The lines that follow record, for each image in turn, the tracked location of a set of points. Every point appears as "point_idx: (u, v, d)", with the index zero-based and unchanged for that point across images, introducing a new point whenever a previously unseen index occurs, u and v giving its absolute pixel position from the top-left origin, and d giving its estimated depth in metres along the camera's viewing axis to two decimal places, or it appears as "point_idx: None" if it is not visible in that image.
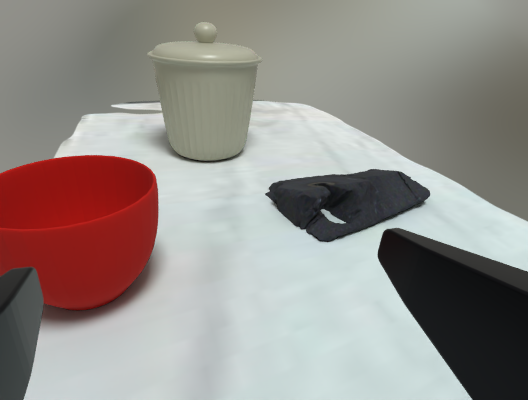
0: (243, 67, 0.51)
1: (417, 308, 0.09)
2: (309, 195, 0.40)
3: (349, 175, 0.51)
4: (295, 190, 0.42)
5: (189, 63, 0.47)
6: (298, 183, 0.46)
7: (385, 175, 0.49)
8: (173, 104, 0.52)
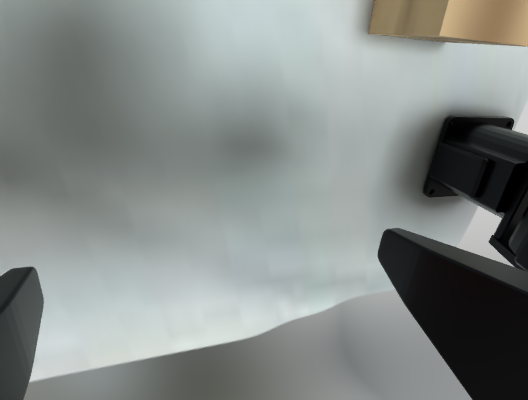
0: None
1: (417, 308, 0.09)
2: None
3: None
4: None
5: None
6: None
7: None
8: None
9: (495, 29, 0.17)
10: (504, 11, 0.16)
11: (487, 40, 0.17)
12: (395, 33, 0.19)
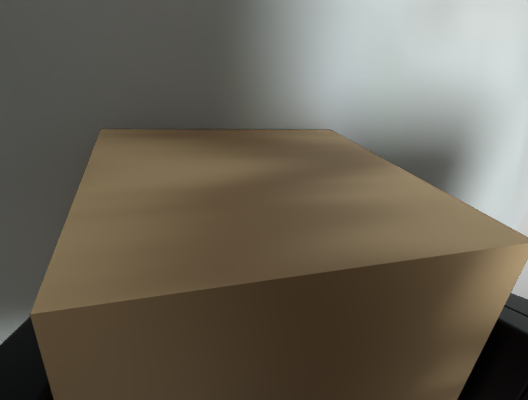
0: None
1: None
2: None
3: None
4: None
5: None
6: None
7: None
8: None
9: None
10: None
11: None
12: None
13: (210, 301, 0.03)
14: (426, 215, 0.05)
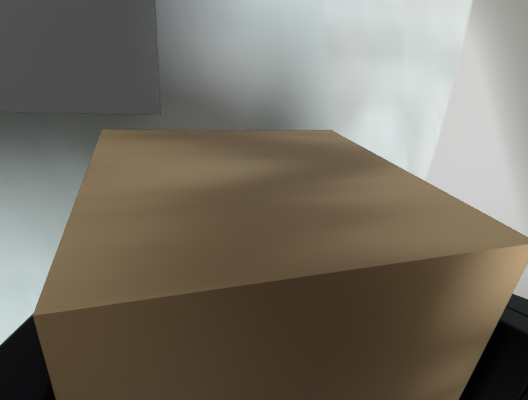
0: None
1: None
2: None
3: None
4: None
5: None
6: None
7: None
8: None
9: None
10: None
11: None
12: None
13: (212, 302, 0.03)
14: (428, 216, 0.05)
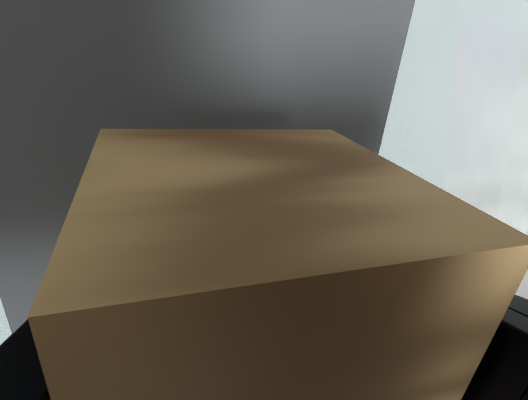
0: None
1: None
2: None
3: None
4: None
5: None
6: None
7: None
8: None
9: None
10: None
11: None
12: None
13: (210, 303, 0.03)
14: (429, 216, 0.05)
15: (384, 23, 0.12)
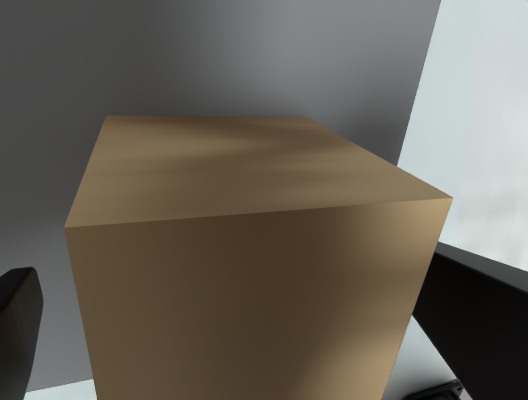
0: None
1: (417, 308, 0.09)
2: None
3: None
4: None
5: None
6: None
7: None
8: None
9: None
10: None
11: None
12: None
13: (191, 228, 0.05)
14: (371, 179, 0.06)
15: (407, 25, 0.11)
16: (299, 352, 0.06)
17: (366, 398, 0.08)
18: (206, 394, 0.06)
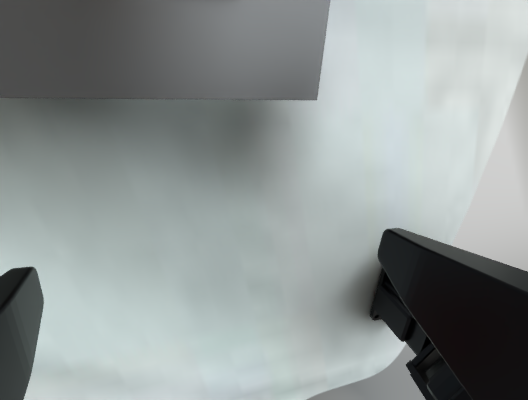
0: None
1: (417, 308, 0.09)
2: None
3: None
4: None
5: None
6: None
7: None
8: None
9: None
10: None
11: None
12: None
13: None
14: None
15: None
16: None
17: None
18: None
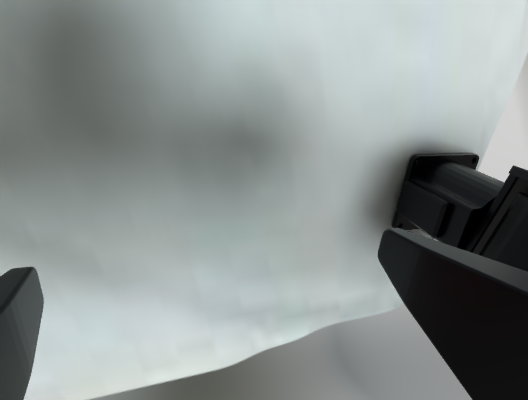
0: None
1: (417, 308, 0.09)
2: None
3: None
4: None
5: None
6: None
7: None
8: None
9: None
10: None
11: None
12: None
13: None
14: None
15: None
16: None
17: None
18: None
